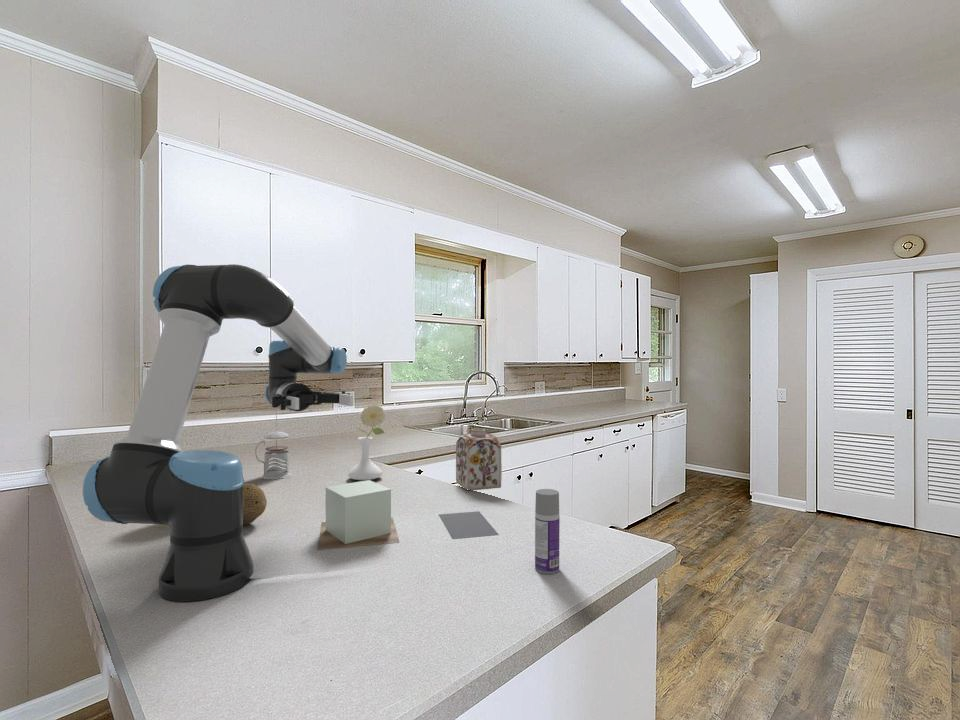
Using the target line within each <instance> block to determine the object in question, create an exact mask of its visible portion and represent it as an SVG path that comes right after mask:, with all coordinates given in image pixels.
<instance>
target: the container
mask: <svg viewBox="0 0 960 720" xmlns="http://www.w3.org/2000/svg"><path fill="white" fill-rule="evenodd" d="M534 507H535V509H534V510H535V511H534V512H535V514H534V523H535V524H534V534H535V535H534V569H535V571H536V572H537V573H540V574H542V575H543V574H544V575H554V574H557V573H558V572H559V571H560V524H561V523H560V522H561V521H560V520H561V519H560V518H561V517H560V492H559V491H558V490H556V489H551V488H540V489H537V490H536V491H535V506H534Z"/></svg>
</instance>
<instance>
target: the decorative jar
mask: <svg viewBox="0 0 960 720" xmlns="http://www.w3.org/2000/svg"><path fill="white" fill-rule="evenodd" d="M455 445H456V447H455V480H456V483H457V484H458V485H459V486H461V487H462V488H464V489H465V490H466V489H468V490H471V491H472V492H473V491H479V490H491V489H501V488H502V477H503V476H502V468H503V467H502V445H501V442H500V441H499V439H498V437H497V436H496V435H494V434H491V433H486V429H485V428H478V427H477V428H471V429H470V433H464V434H461V435H459V438H458V439H457V441H456V444H455ZM471 491H470V492H471Z"/></svg>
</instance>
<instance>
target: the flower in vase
mask: <svg viewBox="0 0 960 720" xmlns="http://www.w3.org/2000/svg"><path fill="white" fill-rule="evenodd" d="M386 415H387V414H386V413H385V410H384V408H382V407H381V406H379V405H375V404H372V405H368V406H367V407H365V408H363V410H362V412H361V414H360V417H359V418H360V419H361V420H360V422H362V425H365V426H366V427H369V428H371V430H370V431H369V433H368V432H367V431H365V430H362V429H360V428H359V427H357V429H358V430H359V431H361V432H362V433H365V434H367V436H360V437H357V440H358V441H359V443H360V446H361V458H360V460H359V462H358V463H356V465H354V466H353V467H352V468H351V469H350V470H349V471H348V473H347V476H348V478H350V479H352V480H356V481H366V480H370V481H373V480H375V479H378V478H380V477H382V475H383V471H382V469H381V468H380V467H379V466H378V465H376V464H375V463H374V462H372V460H371V459H370V456H369V454H370V453H369V452H370V445H371V442H372V441H373V437H371V436H370V435H371V433H372V432H373V434H375V435H376V436H379V435H383V434H385V433H386V432H385V431H384V430H383V429H382V428H381V427H379V426H380V425H382V424H383V422H384V420H386V419H385V418H386ZM377 426H378V427H377Z"/></svg>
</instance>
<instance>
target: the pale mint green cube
mask: <svg viewBox="0 0 960 720" xmlns="http://www.w3.org/2000/svg"><path fill="white" fill-rule="evenodd" d="M391 517H392V489H391V488H389V487H386V486H384V485H382V484H379V483H377V482H375V481H373V480H359V481H354V482H349V483H343V484H335V485H331V486H325V522H326V531H327V532H329V533H330V534H332V535H333V536H335V537H336V538H337V539H339V540H340V541H342V542H343V543H345V544H348V543H352V542H356V541H360V540H364V539H368V538H372V537H376V536H380V535H385V534H389V533H391Z"/></svg>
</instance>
